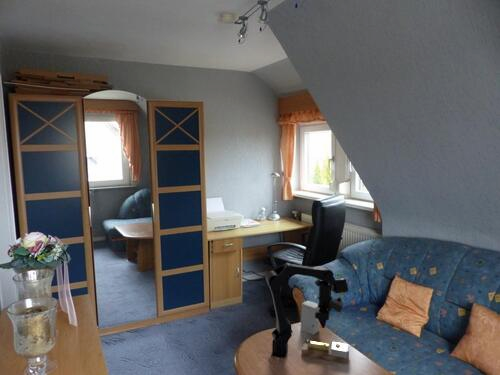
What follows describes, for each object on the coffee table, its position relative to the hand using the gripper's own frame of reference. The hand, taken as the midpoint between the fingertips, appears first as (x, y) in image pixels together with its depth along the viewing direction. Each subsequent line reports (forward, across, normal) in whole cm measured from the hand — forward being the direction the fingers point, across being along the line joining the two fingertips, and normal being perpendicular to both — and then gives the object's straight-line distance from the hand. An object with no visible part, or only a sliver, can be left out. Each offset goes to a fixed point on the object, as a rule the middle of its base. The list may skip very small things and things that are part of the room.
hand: (324, 325), depth 175 cm
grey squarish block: (+9, -6, -8) cm, 13 cm away
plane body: (+12, -6, -2) cm, 13 cm away
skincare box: (+12, +16, +9) cm, 22 cm away
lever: (+9, -6, +2) cm, 11 cm away
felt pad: (+12, +2, -2) cm, 12 cm away
